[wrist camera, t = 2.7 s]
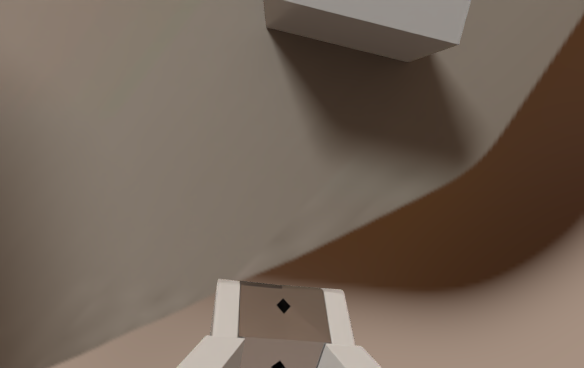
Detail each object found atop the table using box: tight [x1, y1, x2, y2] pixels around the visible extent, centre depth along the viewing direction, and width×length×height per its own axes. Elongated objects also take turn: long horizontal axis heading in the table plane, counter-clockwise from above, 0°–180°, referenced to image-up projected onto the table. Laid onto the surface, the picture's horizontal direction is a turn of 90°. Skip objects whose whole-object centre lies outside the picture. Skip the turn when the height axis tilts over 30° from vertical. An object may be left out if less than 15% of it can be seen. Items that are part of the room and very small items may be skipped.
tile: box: [263, 0, 471, 62], centre depth 27 cm, size 10×3×9 cm, turn 77°
